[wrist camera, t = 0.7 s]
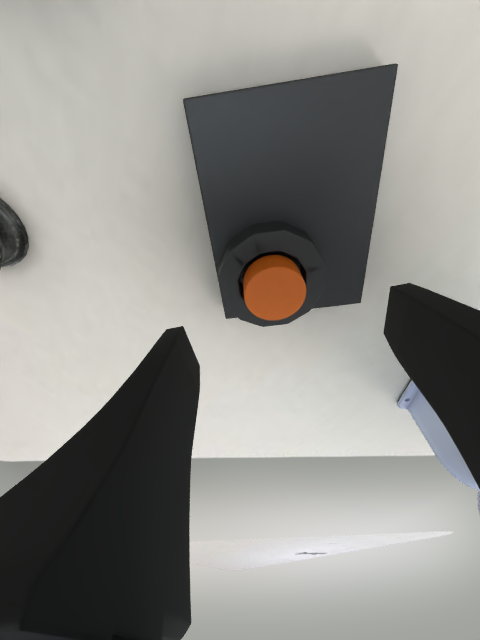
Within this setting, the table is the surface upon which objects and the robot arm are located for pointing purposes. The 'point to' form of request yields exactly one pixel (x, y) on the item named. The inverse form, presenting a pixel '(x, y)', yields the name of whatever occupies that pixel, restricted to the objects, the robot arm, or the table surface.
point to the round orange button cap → (273, 287)
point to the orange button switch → (293, 180)
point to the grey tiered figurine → (11, 237)
